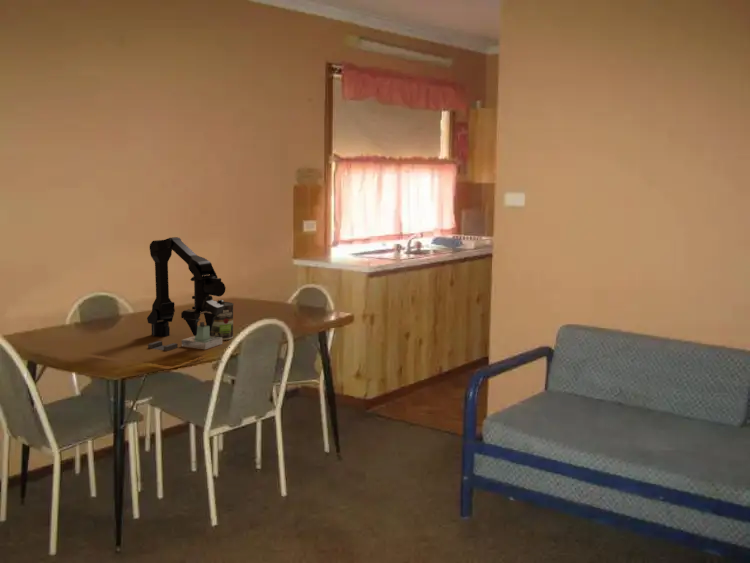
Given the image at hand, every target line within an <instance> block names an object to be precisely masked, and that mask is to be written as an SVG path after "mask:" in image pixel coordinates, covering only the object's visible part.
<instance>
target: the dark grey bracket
mask: <svg viewBox="0 0 750 563" xmlns="http://www.w3.org/2000/svg"><path fill="white" fill-rule="evenodd" d="M147 345H148V346H147V347H148V349H153V350H159V351H166V352H168V351H171V350H174V349H178V346H179V345H178V343H175V342H173V343H170V344H167V345H166V344H165V345H164V344H163V341H161V340H158V341H153V342H149V343H148V344H147Z"/></svg>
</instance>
